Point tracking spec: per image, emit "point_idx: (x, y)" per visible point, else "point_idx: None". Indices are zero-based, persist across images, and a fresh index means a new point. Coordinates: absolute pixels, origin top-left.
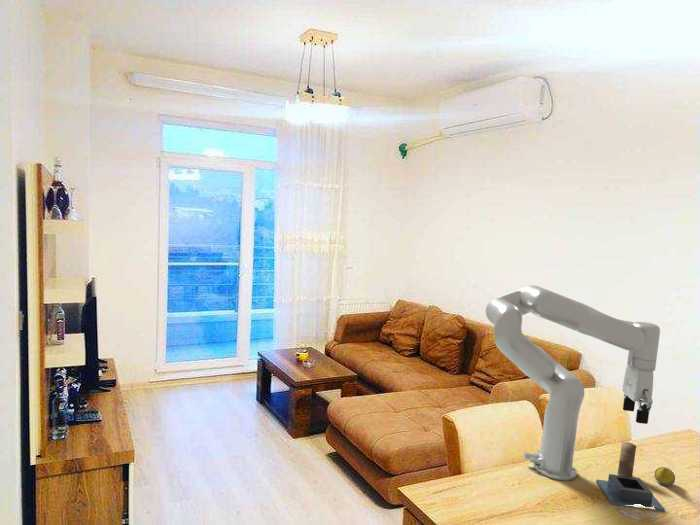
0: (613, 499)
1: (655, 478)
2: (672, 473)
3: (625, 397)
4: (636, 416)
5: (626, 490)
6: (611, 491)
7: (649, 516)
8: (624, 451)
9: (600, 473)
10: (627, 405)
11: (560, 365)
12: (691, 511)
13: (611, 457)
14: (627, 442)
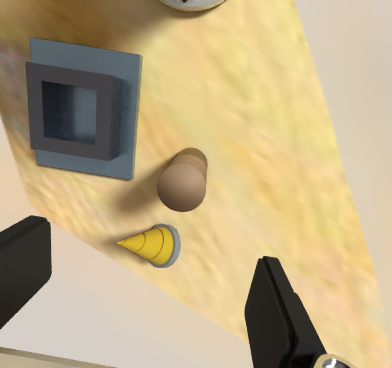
0: (41, 49)
1: (169, 225)
2: (156, 264)
3: (319, 360)
4: (9, 234)
5: (27, 79)
6: (82, 67)
7: (10, 114)
8: (172, 164)
9: (193, 98)
10: (262, 302)
11: None
12: (60, 222)
13: (287, 182)
14: (201, 195)
